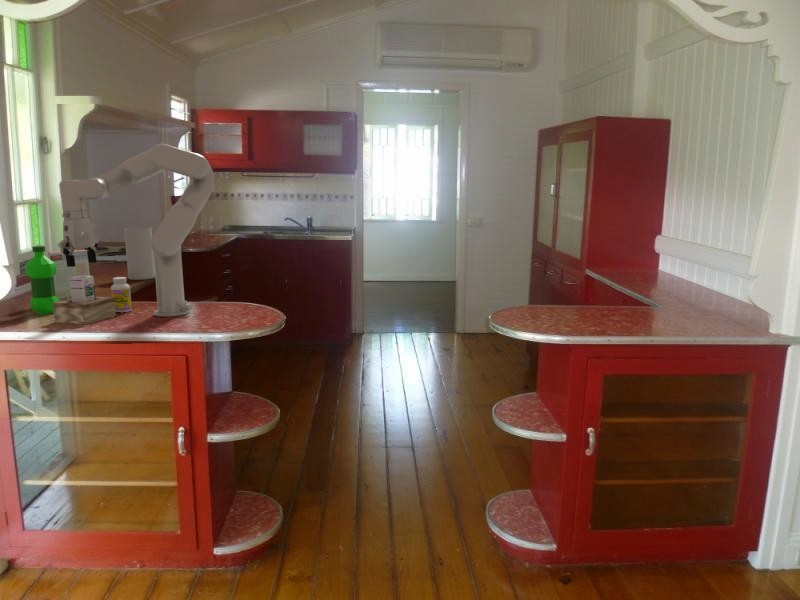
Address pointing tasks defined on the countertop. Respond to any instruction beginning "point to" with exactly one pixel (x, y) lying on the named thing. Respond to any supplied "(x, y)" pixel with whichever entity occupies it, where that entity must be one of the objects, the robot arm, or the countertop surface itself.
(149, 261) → the cylinder vase
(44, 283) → the plastic bottle
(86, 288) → the syrup box
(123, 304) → the supplement bottle
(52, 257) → the cracker box
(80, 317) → the wooden box
